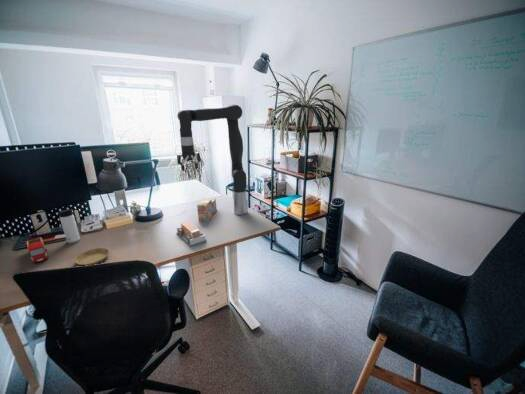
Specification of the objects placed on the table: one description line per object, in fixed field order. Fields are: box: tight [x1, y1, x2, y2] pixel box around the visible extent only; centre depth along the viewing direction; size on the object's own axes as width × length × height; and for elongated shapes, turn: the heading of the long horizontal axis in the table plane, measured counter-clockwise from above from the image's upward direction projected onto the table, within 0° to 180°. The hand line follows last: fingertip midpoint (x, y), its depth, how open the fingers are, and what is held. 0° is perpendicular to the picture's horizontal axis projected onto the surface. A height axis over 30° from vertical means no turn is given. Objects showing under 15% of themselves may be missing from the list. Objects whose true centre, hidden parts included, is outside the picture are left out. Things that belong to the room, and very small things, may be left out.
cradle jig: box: [176, 226, 208, 248], centre depth 147 cm, size 10×20×4 cm, turn 39°
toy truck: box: [26, 236, 48, 264], centre depth 129 cm, size 7×21×10 cm, turn 45°
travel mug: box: [57, 208, 81, 244], centre depth 141 cm, size 6×7×20 cm
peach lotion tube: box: [180, 221, 201, 239], centre depth 146 cm, size 5×16×6 cm, turn 39°
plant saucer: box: [74, 247, 110, 266], centre depth 126 cm, size 15×15×3 cm
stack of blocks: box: [196, 198, 218, 223], centre depth 177 cm, size 21×6×12 cm, turn 173°
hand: (190, 169), depth 157 cm, fingers open, 8 cm apart
